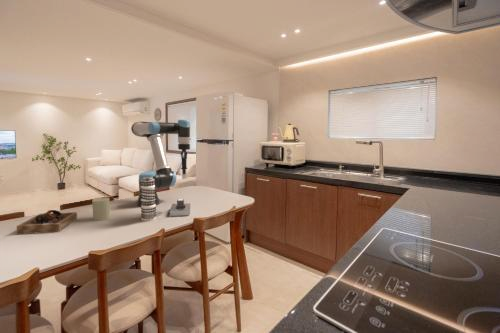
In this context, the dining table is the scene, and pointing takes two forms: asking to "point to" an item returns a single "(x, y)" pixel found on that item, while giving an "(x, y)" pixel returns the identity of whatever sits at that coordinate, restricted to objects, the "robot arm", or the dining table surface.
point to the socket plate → (180, 210)
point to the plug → (180, 204)
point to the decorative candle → (148, 199)
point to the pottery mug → (49, 217)
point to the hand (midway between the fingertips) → (184, 178)
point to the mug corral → (33, 225)
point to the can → (101, 208)
